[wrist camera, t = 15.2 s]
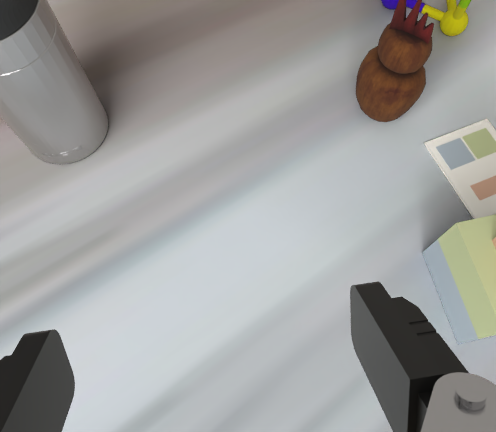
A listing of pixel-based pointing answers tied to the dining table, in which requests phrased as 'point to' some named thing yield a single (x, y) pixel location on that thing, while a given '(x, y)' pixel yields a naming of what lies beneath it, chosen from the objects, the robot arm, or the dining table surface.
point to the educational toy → (441, 14)
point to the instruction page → (469, 165)
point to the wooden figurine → (395, 66)
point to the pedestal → (466, 277)
